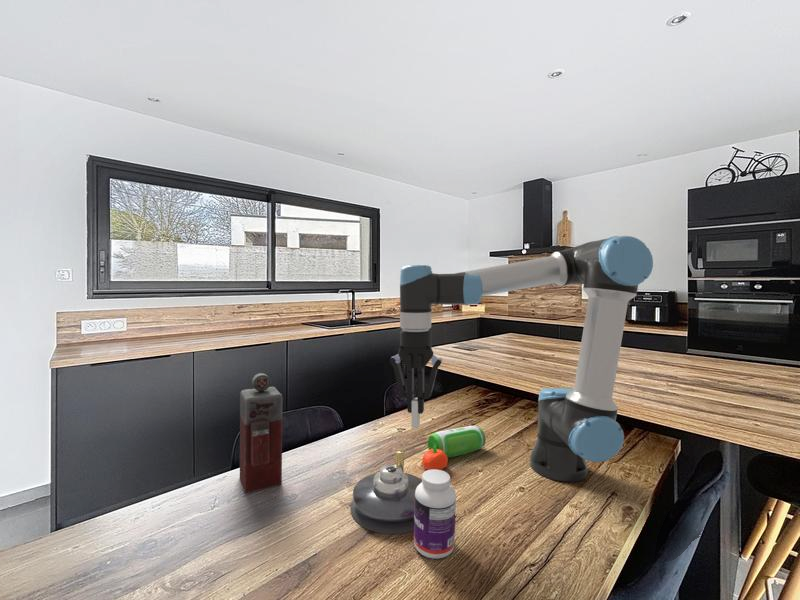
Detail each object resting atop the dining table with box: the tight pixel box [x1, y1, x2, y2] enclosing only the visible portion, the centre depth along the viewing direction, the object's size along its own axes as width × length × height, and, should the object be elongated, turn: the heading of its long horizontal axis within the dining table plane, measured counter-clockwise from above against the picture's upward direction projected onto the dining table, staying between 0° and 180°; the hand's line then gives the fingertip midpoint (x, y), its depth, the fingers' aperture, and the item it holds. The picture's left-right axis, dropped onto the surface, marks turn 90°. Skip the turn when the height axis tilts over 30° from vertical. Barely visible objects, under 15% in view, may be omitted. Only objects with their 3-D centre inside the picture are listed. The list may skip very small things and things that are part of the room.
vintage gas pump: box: [239, 372, 284, 494], centre depth 97 cm, size 9×11×28 cm
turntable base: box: [350, 500, 414, 535], centre depth 88 cm, size 19×19×2 cm
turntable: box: [352, 449, 422, 524], centre depth 87 cm, size 18×18×8 cm
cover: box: [373, 463, 408, 501], centre depth 88 cm, size 8×8×5 cm
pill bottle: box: [413, 469, 457, 560], centre depth 74 cm, size 8×8×14 cm
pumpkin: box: [421, 446, 449, 471], centre depth 106 cm, size 7×8×6 cm
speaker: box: [427, 425, 486, 458], centre depth 117 cm, size 18×7×8 cm, turn 117°
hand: (415, 425), depth 92 cm, fingers closed
